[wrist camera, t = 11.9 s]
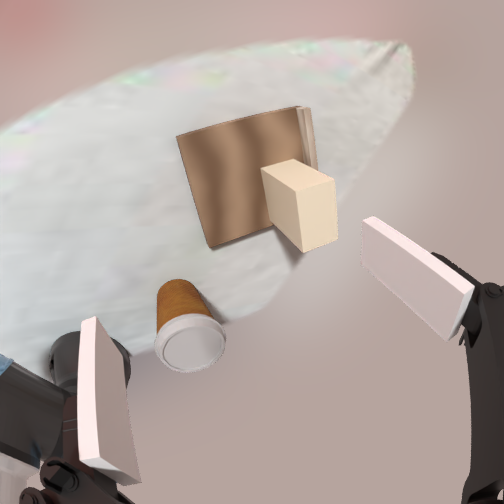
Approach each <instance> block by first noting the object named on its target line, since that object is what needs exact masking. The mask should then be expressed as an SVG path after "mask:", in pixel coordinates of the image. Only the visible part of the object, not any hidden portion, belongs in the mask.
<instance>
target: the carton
mask: <svg viewBox="0 0 504 504" xmlns="http://www.w3.org/2000/svg"><path fill="white" fill-rule="evenodd" d="M260 169H261V174H262V180H263V185H264V190H265V196H266V201H267V207H268V212H269V218H270V221H271V222H272V223H273V224H274V225H275V226H276V227H277V228H278V229H279V230H280V231H281V232H282V233H283V234H284V235H285V236H286V237H287V238H288V239H289V240H290V241H291V242H292V243H293V244H294V245H295V246H296V247H297V248H298V249H299V250H300V251H301V252H302V253H305V252H308V251H310V250H313V249H315V248H318V247H320V246H323V245H325V244H328V243H330V242H333V241H335V240H338V226H337V208H336V193H335V179H333V178H331V177H329V176H327V175H325V174H323V173H321V172H319V171H317V170H315V169H313V168H311V167H309V166H307V165H305V164H303V163H301V162H299V161H297V160H295V159H291V160H288V161H284V162H280V163H277V164H273V165H270V166H266V167H263V168H260Z"/></svg>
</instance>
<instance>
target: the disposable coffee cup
mask: <svg viewBox="0 0 504 504" xmlns="http://www.w3.org/2000/svg"><path fill="white" fill-rule="evenodd" d="M225 341H226V334H225V331H224V329H223V327H222V326H221V324H220V323H218V322H217V321H216V320H214V318H213V316H212V315H211V313H210V312H209V310H208V308H207V307H206V305H205V303H204V302H203V300H202V298H201V297H200V295H199V294H198V292H197V290H196V288H195V287H194V285H193V284H191V283H190V282H188V281H186V280H182V279H175V280H171V281H168V282H167V283H165V284H164V285H163V286H162V287H161V288H160V289H159V291H158V294H157V336H156V339H155V344H154V345H155V352H156V354H157V356H158V357H159V359H161V360H162V362H163V364H165V365H166V366H167V367H168V368H170V369H172V370H174V371H179V372H195V371H199V370H203V369H205V368H207V367H209V366H211V365H212V364H214V363H215V362H216V361H217V360H218V359H219V358H220V357H221V356H222V354H223V352H224V349H225Z"/></svg>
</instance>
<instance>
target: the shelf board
mask: <svg viewBox="0 0 504 504" xmlns="http://www.w3.org/2000/svg"><path fill="white" fill-rule="evenodd" d="M176 138H177V142H178V146H179V149H180V153H181V157H182V160H183V164H184V167H185V171H186V174H187V178H188V181H189V185H190V188H191V192H192V195H193V198H194V202H195V205H196V209H197V212H198V215H199V219H200V222H201V225H202V228H203V232H204V235H205V238H206V241H207V244H208V246H209V248H211V247H214V246H216V245H219V244H222V243H225V242H228V241H230V240H233V239H236V238H239V237H241V236H244V235H247V234H250V233H253V232H255V231H258V230H261V229H264V228H267V227H270V226H272V225H274V224H273V223H272V222H271V221H270V218H269V212H268V207H267V201H266V196H265V190H264V185H263V180H262V174H261V169H260V168H263V167H266V166H270V165H273V164H277V163H280V162H284V161H288V160H291V159H295V160H297V161H299V162H301V163H303V164H305V165H307V166H309V167H311V168H313V169H315V170H317V171H318V164H317V155H316V147H315V139H314V131H313V124H312V117H311V110H310V108H307V107H301V106H295V107H289V108H284V109H279V110H275V111H270V112H265V113H261V114H256V115H252V116H248V117H244V118H240V119H235V120H232V121H228V122H224V123H220V124H216V125H213V126H209V127H206V128H202V129H199V130H195V131H192V132H189V133H185V134H182V135H179V136H176Z"/></svg>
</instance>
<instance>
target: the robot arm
mask: <svg viewBox="0 0 504 504" xmlns="http://www.w3.org/2000/svg"><path fill="white" fill-rule="evenodd" d="M361 249H362V250H361V265H362V266H363V267H364V268H365V269H366V270H368V271H369V272H370V273H371V274H372V275H373V276H374V277H376V278H377V279H378V280H379V281H380V282H381V283H383V284H384V285H385V286H386V287H387V288H388V289H389V290H390V291H391V292H393V293H394V294H395V295H396V296H397V297H398V298H399V299H400V300H402V301H403V302H404V303H405V304H406V305H407V306H408V307H409V308H410V309H412V310H413V311H414V312H415V313H416V314H417V315H418V316H419V317H420V318H421V319H423V320H424V321H425V322H426V323H427V324H428V325H429V326H430V327H431V328H432V329H433V330H434V331H435V332H436V333H437V334H439V336H441V337H442V338H443V339H444V340H445V341H446V342H447V341H449V340H450V339H451V338H452V337H454V336H455V335H456V334H457V333H458V330H459V328H460V326H461V324H462V325H463V326H464V327H465V329H464V332H463V334H462V336H461V338H460V341H459V345H461V344H462V342H463V340H465V343H464V345H465V346H466V354H467V363H468V372H469V383H470V397H471V424H472V425H471V427H472V428H471V429H472V431H471V433H472V435H471V466H470V467H471V468H470V473H469V476H468V478H467V480H466V482H465V485H464V488H463V493H462V501H461V504H504V491H503V500H497V497H498V494H499V492H500V491H501V490H502V489H504V286H501V287H500V286H499V285H497V284H495V283H490V282H489V283H484V284H481V283H480V282H478V281H477V280H476V279H474V278H473V277H472V276H470V275H469V274H468V273H466V272H465V271H464V270H462V269H461V268H458V266H457V265H455V264H454V263H451V261H450V260H448V259H447V258H445V257H444V256H442V255H439V254H437V253H434V252H432V253H429V252H427V251H426V250H425V249H423V248H422V247H420V246H419V245H417V244H416V243H414V242H413V241H411V240H410V239H408V238H407V237H405V236H404V235H402V234H401V233H399V232H398V231H396V230H395V229H393V228H392V227H390V226H388V225H387V224H385V223H384V222H382V221H381V220H379V219H378V218H376V217H374V216H372V217H369V218H367V219H364V220H362V247H361ZM49 365H50V370H51V374H52V378H53V381H54V384H53V383H51V382H49V381H47V380H45V379H43V378H41V377H39V376H38V375H36V374H34V373H32V372H30V371H29V370H27V369H25V368H24V367H22V366H20V365H19V364H17V363H16V362H14V360H13V359H11V358H10V359H9V358H7V357H5V356H3V355H1V354H0V504H135V503H133V502H132V501H131V500H130V499H128V498H127V497H126V496H125V495H123V494H122V493H121V492H120V491H118V490H117V486H116V483H119V484H121V485H123V486H126V485H132V484H137V483H141V478H140V474H139V469H138V464H137V459H136V453H135V448H134V443H133V437H132V430H131V424H130V417H129V410H128V403H127V394H126V388H127V385H128V381H129V379H130V374H131V368H130V359H129V356H128V354H127V352H126V350H125V349H124V348H123V347H122V346H121V345H120V344H119V343H118V342H117V341H115V340H114V339H112V338H110V337H109V335H108V334H107V332H106V331H105V329H104V328H103V326H102V324H101V323H100V321H99V320H98V318H97V317H96V316H95V317H92V318H89V319H87V320H84V321H82V324H81V331H76V332H71V333H68V334H65V335H63V336H61V337H60V338H58V339H57V340H56V341H55V342H54V344H53V345H52V348H51V352H50V358H49ZM40 460H41V461H44V463H43V465H42V467H41V470H40V480H41V483H42V485H43V486H44V487H45V489H43V490H41V491H39V490H37V489H35V488H32V487H28V488H26V485H27V479H28V478H29V477H31V476H32V475H34V474H36V473H38V472H39V468H40Z"/></svg>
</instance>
